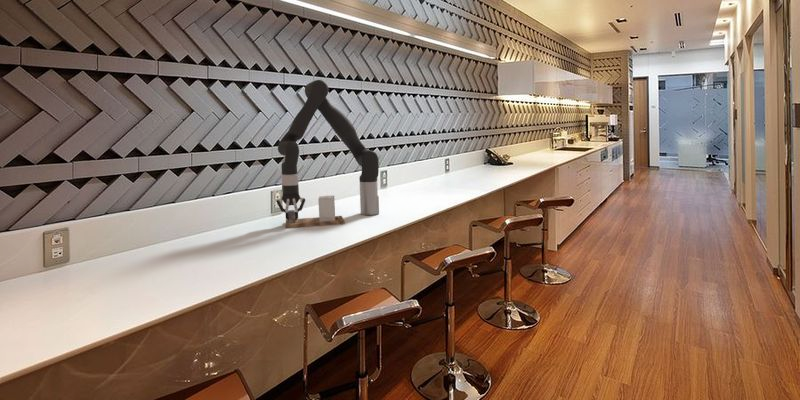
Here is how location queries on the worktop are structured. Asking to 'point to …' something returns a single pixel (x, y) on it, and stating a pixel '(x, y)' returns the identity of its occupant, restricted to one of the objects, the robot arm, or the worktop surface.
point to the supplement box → (326, 208)
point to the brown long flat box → (310, 221)
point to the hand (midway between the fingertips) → (292, 219)
